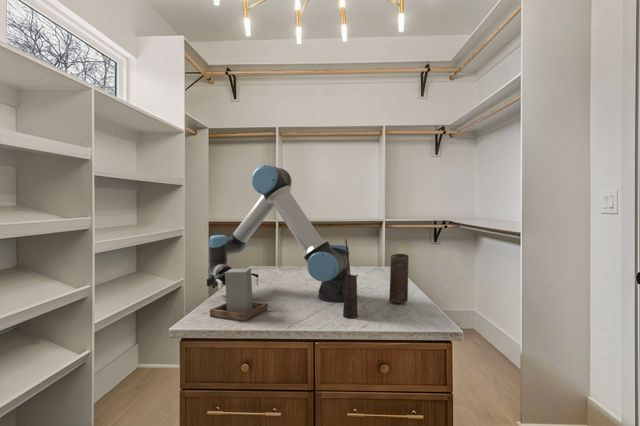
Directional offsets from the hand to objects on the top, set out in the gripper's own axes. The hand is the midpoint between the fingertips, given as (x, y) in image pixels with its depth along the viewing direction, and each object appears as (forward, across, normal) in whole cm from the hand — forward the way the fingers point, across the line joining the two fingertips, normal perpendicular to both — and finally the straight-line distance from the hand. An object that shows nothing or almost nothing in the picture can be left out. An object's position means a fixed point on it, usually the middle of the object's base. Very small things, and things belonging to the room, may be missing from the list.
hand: (239, 283), depth 129 cm
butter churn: (+23, -34, -11) cm, 43 cm away
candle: (+19, -61, -11) cm, 65 cm away
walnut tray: (-1, 0, -11) cm, 11 cm away
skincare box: (-1, 0, -11) cm, 11 cm away
